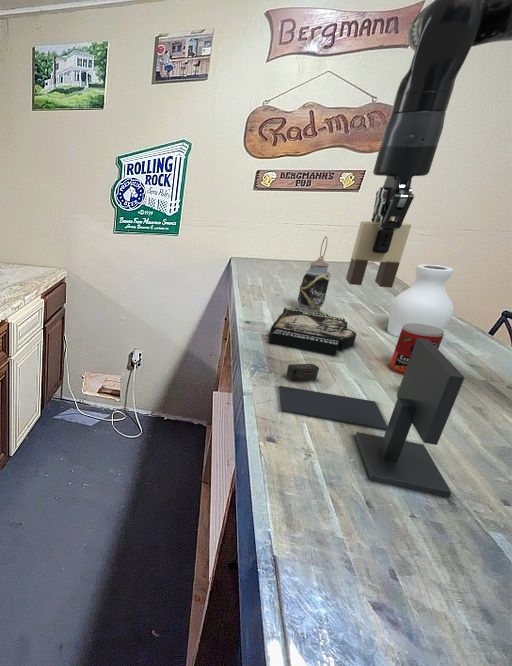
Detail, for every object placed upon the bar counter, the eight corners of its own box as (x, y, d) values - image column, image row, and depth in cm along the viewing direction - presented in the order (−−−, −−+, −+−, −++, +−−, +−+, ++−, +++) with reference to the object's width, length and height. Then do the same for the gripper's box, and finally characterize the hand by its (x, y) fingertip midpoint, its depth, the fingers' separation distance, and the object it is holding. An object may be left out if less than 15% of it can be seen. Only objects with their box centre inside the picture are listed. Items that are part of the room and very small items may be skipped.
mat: (374, 403, 97) (374, 401, 96) (387, 431, 87) (388, 428, 86) (279, 387, 103) (279, 385, 103) (281, 411, 93) (282, 409, 93)
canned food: (389, 372, 111) (403, 330, 106) (388, 361, 117) (402, 321, 112) (429, 380, 107) (446, 336, 102) (426, 369, 113) (442, 326, 108)
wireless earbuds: (320, 380, 107) (323, 368, 105) (291, 382, 106) (294, 369, 105) (307, 372, 111) (310, 360, 110) (279, 373, 110) (282, 361, 109)
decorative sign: (264, 331, 128) (285, 307, 150) (262, 342, 129) (283, 316, 151) (352, 348, 117) (360, 318, 139) (349, 359, 118) (357, 328, 140)
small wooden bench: (387, 282, 84) (405, 222, 80) (393, 287, 81) (413, 225, 76) (344, 279, 87) (360, 220, 83) (348, 284, 83) (364, 223, 79)
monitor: (419, 447, 82) (461, 343, 74) (451, 502, 68) (505, 382, 60) (354, 434, 86) (386, 334, 78) (371, 484, 72) (412, 369, 64)
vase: (374, 324, 143) (394, 260, 135) (428, 328, 140) (452, 263, 132) (394, 340, 131) (417, 271, 123) (453, 345, 127) (481, 274, 119)
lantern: (323, 315, 152) (343, 239, 142) (296, 313, 154) (314, 237, 145) (318, 308, 159) (337, 235, 149) (292, 306, 162) (309, 234, 152)
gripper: (452, 142, 67) (414, 259, 74) (423, 145, 79) (393, 246, 86) (391, 143, 70) (359, 256, 77) (372, 146, 82) (346, 244, 89)
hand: (377, 250), depth 81 cm, fingers closed on small wooden bench, 3 cm apart
